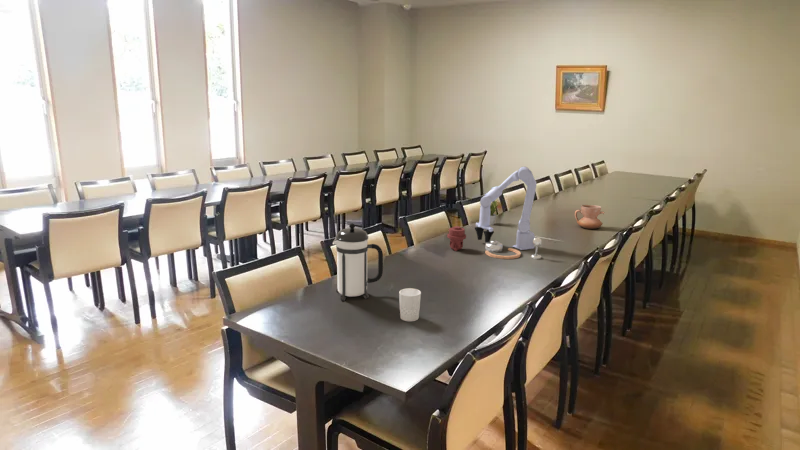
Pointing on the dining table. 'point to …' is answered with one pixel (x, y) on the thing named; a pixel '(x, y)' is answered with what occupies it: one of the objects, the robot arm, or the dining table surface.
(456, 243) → the mechanical component
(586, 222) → the ceramic jug
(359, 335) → the dining table surface
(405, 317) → the white cup
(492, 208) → the house plant
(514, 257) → the ring
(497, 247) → the cast cover
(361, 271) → the coffee press
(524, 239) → the robot arm
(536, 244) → the wine glass
